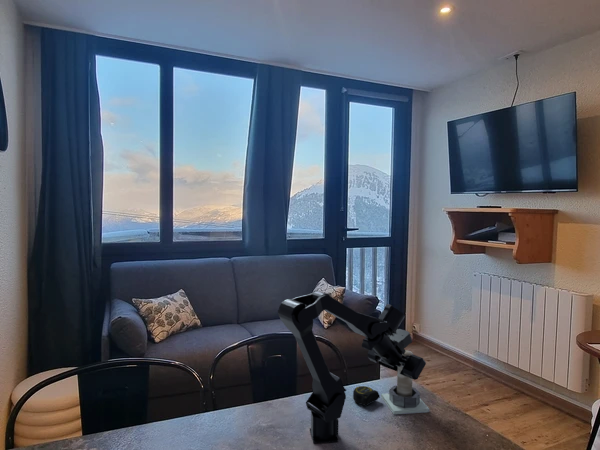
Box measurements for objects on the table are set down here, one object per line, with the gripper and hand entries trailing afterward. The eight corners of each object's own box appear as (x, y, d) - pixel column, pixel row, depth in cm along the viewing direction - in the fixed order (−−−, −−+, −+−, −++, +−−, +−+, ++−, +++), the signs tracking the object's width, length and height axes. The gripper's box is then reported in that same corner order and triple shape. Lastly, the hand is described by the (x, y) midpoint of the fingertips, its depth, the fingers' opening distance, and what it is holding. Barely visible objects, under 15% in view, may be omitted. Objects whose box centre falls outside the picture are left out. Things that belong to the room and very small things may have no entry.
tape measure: (365, 409, 122) (365, 397, 122) (348, 401, 127) (348, 389, 127) (379, 402, 126) (379, 390, 126) (362, 394, 132) (362, 383, 131)
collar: (396, 408, 120) (396, 398, 120) (386, 395, 129) (386, 386, 129) (423, 406, 121) (423, 397, 121) (412, 393, 130) (412, 384, 130)
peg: (403, 402, 122) (405, 356, 121) (393, 396, 126) (394, 351, 125) (415, 399, 124) (416, 353, 123) (404, 393, 128) (405, 349, 127)
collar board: (393, 414, 119) (393, 411, 119) (381, 396, 130) (381, 393, 130) (429, 412, 120) (429, 408, 120) (414, 394, 131) (414, 391, 131)
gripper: (422, 331, 114) (445, 361, 121) (374, 315, 129) (397, 343, 136) (402, 364, 110) (428, 394, 117) (355, 344, 125) (380, 372, 132)
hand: (407, 373), depth 125 cm, fingers closed on peg, 4 cm apart
